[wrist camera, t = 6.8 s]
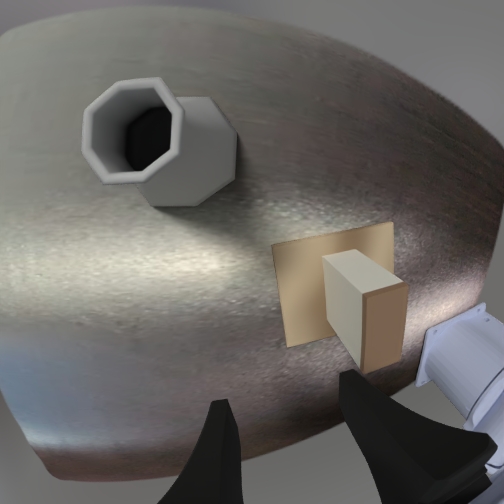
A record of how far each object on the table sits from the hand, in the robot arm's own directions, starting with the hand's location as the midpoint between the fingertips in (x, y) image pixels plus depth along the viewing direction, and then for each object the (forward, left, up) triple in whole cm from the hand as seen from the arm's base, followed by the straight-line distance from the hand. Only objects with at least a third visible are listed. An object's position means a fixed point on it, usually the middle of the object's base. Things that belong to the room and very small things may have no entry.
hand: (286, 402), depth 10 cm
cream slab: (-6, 0, -9) cm, 11 cm away
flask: (+3, -11, -10) cm, 15 cm away
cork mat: (-6, 0, -9) cm, 11 cm away
